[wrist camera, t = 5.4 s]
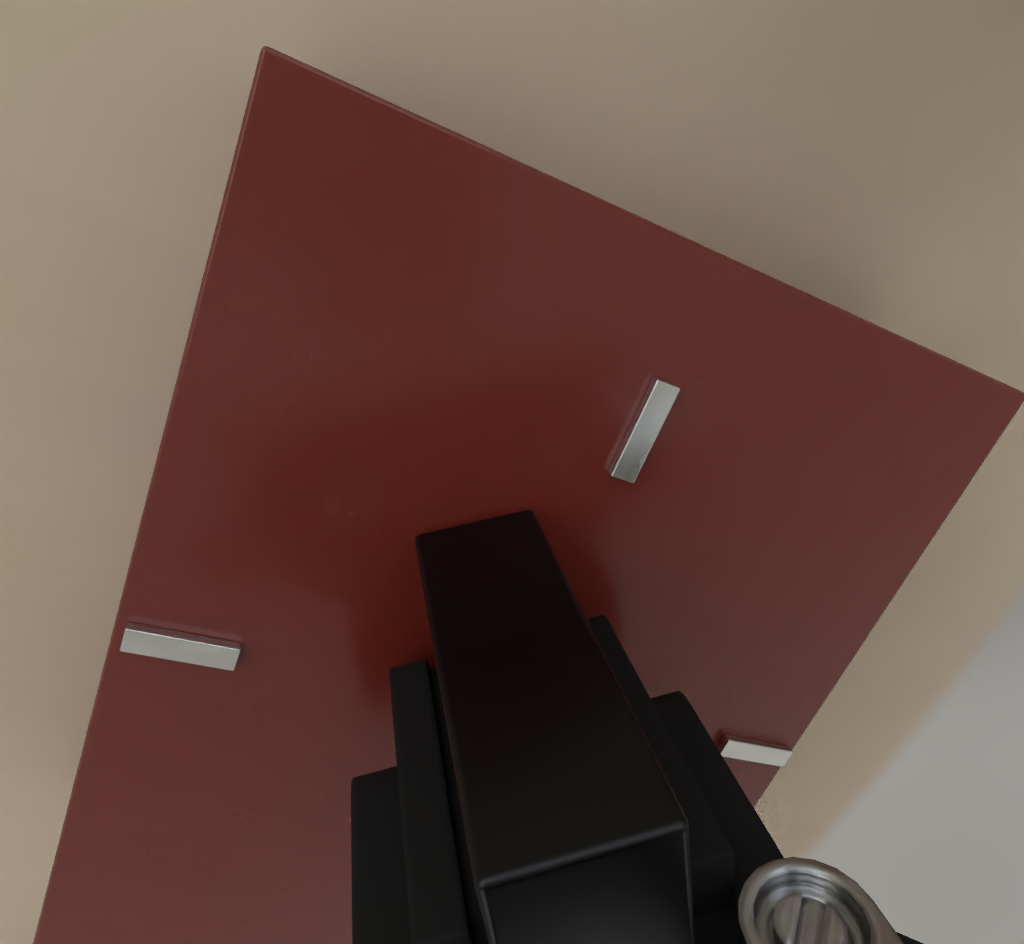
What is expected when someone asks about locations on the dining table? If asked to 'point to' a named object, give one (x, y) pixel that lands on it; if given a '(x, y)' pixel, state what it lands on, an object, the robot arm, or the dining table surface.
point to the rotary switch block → (469, 496)
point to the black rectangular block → (548, 751)
